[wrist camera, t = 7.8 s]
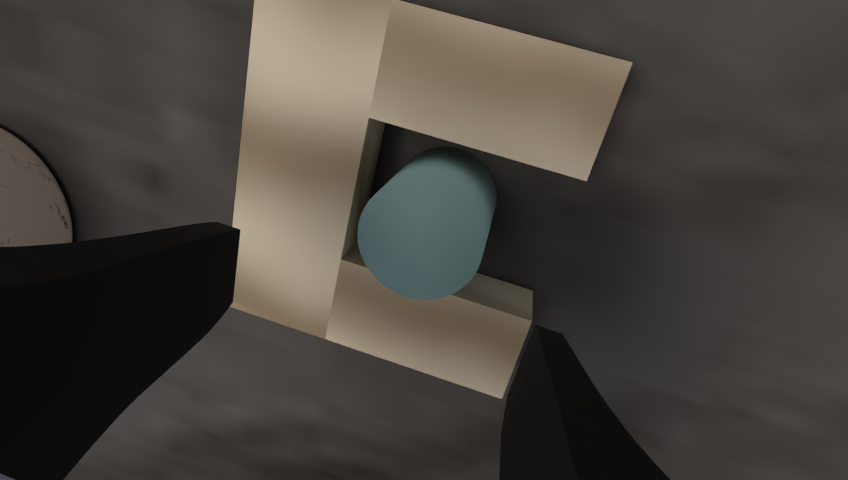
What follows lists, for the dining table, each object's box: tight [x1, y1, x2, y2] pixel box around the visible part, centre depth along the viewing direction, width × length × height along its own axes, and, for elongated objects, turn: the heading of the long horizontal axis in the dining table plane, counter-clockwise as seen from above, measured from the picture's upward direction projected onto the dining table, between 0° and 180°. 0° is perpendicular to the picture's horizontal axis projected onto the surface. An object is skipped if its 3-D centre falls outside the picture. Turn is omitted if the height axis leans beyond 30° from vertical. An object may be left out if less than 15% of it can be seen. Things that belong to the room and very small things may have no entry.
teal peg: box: [358, 147, 497, 300], centre depth 18 cm, size 4×4×5 cm
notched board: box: [230, 0, 633, 399], centre depth 20 cm, size 13×12×2 cm
